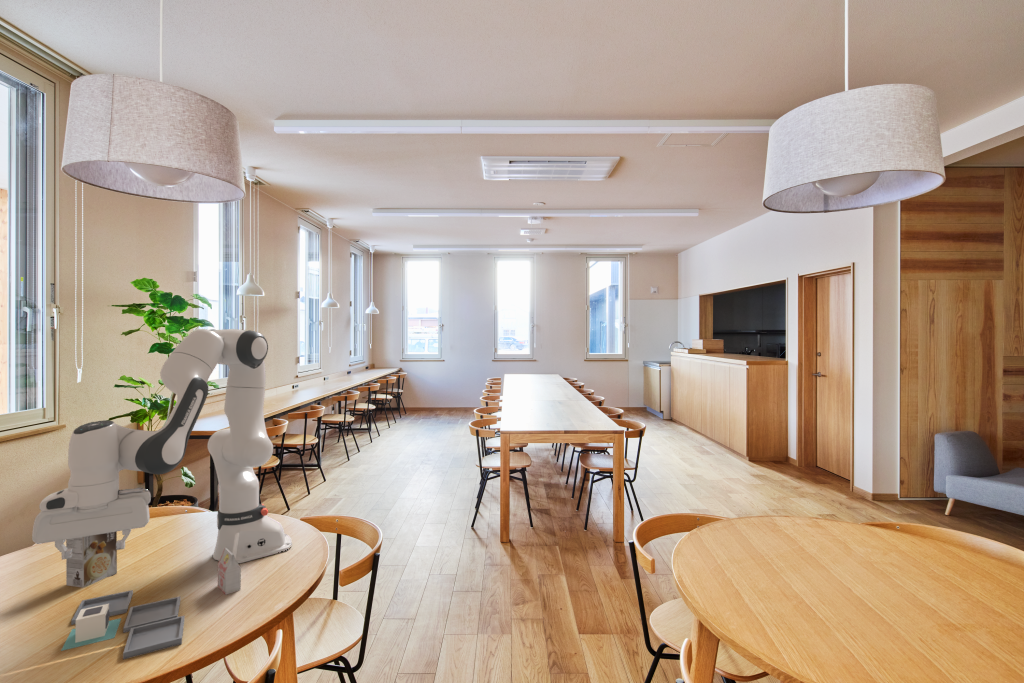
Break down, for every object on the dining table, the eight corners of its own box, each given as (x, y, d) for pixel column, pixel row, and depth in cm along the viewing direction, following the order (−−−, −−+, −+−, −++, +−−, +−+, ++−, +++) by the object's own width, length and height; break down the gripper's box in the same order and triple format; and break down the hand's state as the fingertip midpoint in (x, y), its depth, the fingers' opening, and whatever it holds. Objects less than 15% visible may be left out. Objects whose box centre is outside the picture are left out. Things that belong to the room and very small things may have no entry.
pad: (121, 619, 116) (121, 618, 116) (114, 639, 108) (114, 637, 108) (72, 630, 112) (72, 629, 112) (60, 652, 104) (60, 650, 104)
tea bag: (232, 581, 135) (232, 545, 135) (240, 589, 131) (240, 553, 131) (217, 585, 133) (217, 549, 133) (225, 594, 128) (225, 557, 128)
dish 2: (180, 601, 124) (180, 596, 124) (177, 621, 116) (177, 615, 116) (130, 612, 119) (130, 607, 119) (123, 634, 110) (123, 628, 110)
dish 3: (184, 621, 116) (184, 615, 116) (181, 644, 107) (181, 637, 107) (130, 634, 110) (131, 628, 110) (123, 659, 102) (123, 652, 102)
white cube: (109, 624, 114) (109, 602, 114) (105, 635, 109) (105, 612, 109) (81, 631, 111) (81, 608, 111) (75, 642, 107) (75, 619, 107)
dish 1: (132, 595, 127) (132, 589, 127) (126, 614, 119) (126, 608, 119) (82, 605, 122) (82, 600, 122) (71, 626, 113) (71, 620, 113)
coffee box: (99, 571, 140) (100, 516, 140) (117, 573, 139) (118, 518, 139) (64, 586, 131) (65, 528, 131) (83, 589, 130) (84, 530, 130)
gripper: (152, 482, 118) (152, 538, 118) (38, 496, 108) (39, 558, 108) (149, 489, 113) (149, 548, 113) (29, 505, 102) (29, 569, 102)
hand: (94, 553), depth 110 cm, fingers open, 8 cm apart
